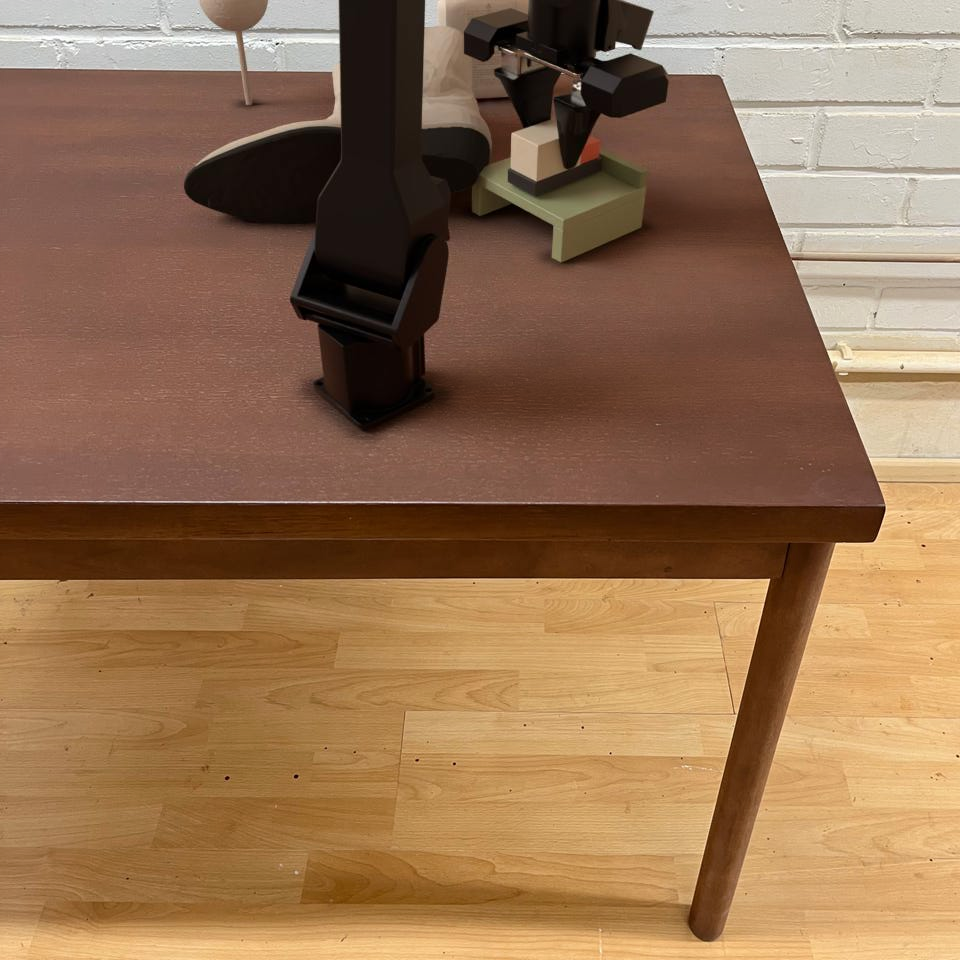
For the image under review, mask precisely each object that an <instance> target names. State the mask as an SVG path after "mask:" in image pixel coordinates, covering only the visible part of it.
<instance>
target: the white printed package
mask: <svg viewBox="0 0 960 960" xmlns="http://www.w3.org/2000/svg"><path fill="white" fill-rule="evenodd" d="M528 2H529V0H438V1H437V26H448V27H452V28H455V29H457V30H459V31H460V32H461V33H462V34H463V35H464V31H465V29H466V27H467V26H468V24H469V22H470V21H471V19H472V18H475V17H479V16H482V15H486V14H490V13H494V12H498V11H502V10H505V9H509V8H512V9H515V10H517V11H520V12H523V13H525V14H528ZM499 67H501V51H499V50H498V46H495V47H494V55H493V56H492V57H491V58H490V59H489V60H488V61H485V62H482V61H479V60H477V59H475V58H472V78H473V94H474V97H475V99H476V100H477V99H492V98H493V99H494V98H509V96H508V95H507V93H506V91H505V89H504V87H503V85H502V83H501V81H500V79H499V78H497V77H495V76H494V69H496V68H499Z"/></svg>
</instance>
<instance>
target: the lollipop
mask: <svg viewBox="0 0 960 960" xmlns="http://www.w3.org/2000/svg"><path fill="white" fill-rule="evenodd" d="M198 2H199V6H200V9H201V10H202V12H203V14H204V15H205V16H206V17H207V19H208V20H209V21H210V22H212V23H213V24H214V25H216V26H217V27H219V28H221V29H222V30H225V31H229V32H235V38H236V45H237V52H238V59H239V66H240V72H241V78H242V87H243V93H244V100H245V105H246V106H252V105H253V100H252V99H253V98H252V92H251V86H250V85H251V84H250V79H249V71H248V65H247V57H246V50H245V43H244V37H243V32H244V31H247V30H250V29H252V28H253V27H255V26H256V25H258V24H259V22H260V21H261V20H263V18H264V16H265V14H266V11H267V8H268V4H269V0H198Z"/></svg>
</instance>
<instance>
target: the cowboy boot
mask: <svg viewBox="0 0 960 960" xmlns="http://www.w3.org/2000/svg"><path fill="white" fill-rule="evenodd" d="M331 75H332V84H333V86H332V87H333V92H334V97H335V98H334V99H335V101H334V107H333V112H332V114H331V115H330V116H328V117H327V118H325V119H317V120H306V121H305V120H304V121H297V122H291V123H287V124H282V125H279V126H277V127H273V128H270V129H267V130H264V131H261V132H258V133H255V134H252V135H249V136H245V137H242V138H239V139H237V140H234V141H231V142H229V143H227V144H225V145H223V146H221V147H219V148H217V149H215V150H214V151H212V152H210V153H208V154H207V155H206V156H205V157H203V158H202V159H201V160H200V161H199V162H198V163H196V164H195V165H194V166H193V167H192V168H191V169H190V170H189V171H188V173H187V174H186V176H185V178H184V181H183V189H184V191H185V192H184V194H186V196H187V197H188V198H189V200H190V201H193V202H194V203H195V204H198V205H200V206H203V207H205V208H207V209H210V210H213V211H216V212H219V213H222V214H225V215H228V216H232V217H235V218H237V219H238V218H239V219H243V220H246V221H250V222H255V223H259V224H270V225H271V224H275V225H276V224H277V225H307V224H308V225H309V224H316V215H317V201H318V197H319V195H320V193H321V192H322V190H323V188H324V187H325V185H326V183H327V182H328V180H329V179H330V177H331V175H332V174H333V172H334V170H335V169H336V167H337V165H338V164H339V162H340V160H341V105H340V60H339V61H337V63H335V65H334V66H333V68H332V73H331ZM492 150H493V140H492V134H491V130H490V128H489V125H488V124H487V122H486V121H485V119H484V118H483V117H482V115H481V113H480V108H479V105H478V100H477V99H475V97H474V94H473V78H472V57H470V56H468V55H465V54H464V35H463V34H462V33H461V32H460V31H459V30H457V29H455V28H452V27H448V26H438V25H437V26H425V29H424V65H423V101H422V136H421V158H422V161H423V163H424V165H425V167H426V169H427V171H428V173H429V175H430V176H432V177H436V178H440V179H444V180H446V181H447V183H448V186H449V190H450V193H451V194H452V193H458V192H462V191H465V190H468V189H470V188H472V186H473V185H474V183H475V182H476V181H477V179H478V177H479V174H480V173H481V171H482V170H483V168H484V167H485V166H487V165H490V159H491V155H492Z"/></svg>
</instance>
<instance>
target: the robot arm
mask: <svg viewBox="0 0 960 960" xmlns="http://www.w3.org/2000/svg"><path fill="white" fill-rule="evenodd" d="M653 15H654V10H652V9H649V8H647V7H643V6H641V5H637V4H635V3H631V2H629V1H626V0H529V2H528V14H525V13H523V12H520V11H517V10H515V9H512V8H509V9H505V10H502V11H498V12H494V13H490V14H486V15H482V16H479V17H475V18H472V19H471V21H470V22H469V24H468V26H467V27H466V29H465V31H464V54H465V55H468V56H470V57H472V58H475V59H477V60H479V61H482V62H485V61H488V60H489V59H490V58H491V57H492V56H493V55H494V47H495V46H498V50H499V51H501V67H499V68H496V69H494V76H495V77H497V78H499V79H500V81H501V83H502V85H503V87H504V89H505V91H506V93H507V95H508V96H509V97H508V99H509V101H510V102H511V104H512V106H513V108H514V110H515V112H516V115H517V117H518V119H519V121H520V124H521V127H522V129H525V128H528V127H531V126H534V125H536V124H539V123H542V122H545V121H548V120H551V119H552V111H553V106H554V114H555V118H556V122H557V129H558V137H559V145H560V152H561V157H562V161H563V166H564V168H565V169H567V170H568V169H571V168H573V167H575V166H576V164H577V162H578V160H579V158H580V156H581V153H582V151H583V149H584V147H585V145H586V142H587V140H588V138H589V136H591V133H592V132H593V129H594V127H595V125H596V124H597V122H598V120H599V118H600V116H601V115H604V116H605V117H607V118H612V119H613V118H615V119H621V118H625V117H627V116H630V115H633V114H636V113H639V112H642V111H645V110H647V109H650V108H653V107H656V106H658V105H661V104H664V103H666V102H667V97H668V90H669V83H670V82H669V81H670V79H669V73H668V72H667V70H666V69H665V67H664V66H663V64H660V63H657V62H655V61H652V60H649V59H648V58H647V59H646V58H644V57H642V56H639V55H636V54H634V53H631V52H630V53H626V54H623V55H621V56H617V57H614V58H611V59H608V60H602V59H599V58H596V57H597V53H598V52H602V53H607V52H611V51H613V50H616V43H620V44H623V45H627V46H631V47H632V48H633V50H634V49H635V50H637V51H642V49H643V46H644V43H645V40H646V37H647V34H648V31H649V28H650V25H651V23H652V20H653V19H652V18H653ZM425 22H426V0H338V41H339V42H338V44H339V48H338V49H339V61H340V105H341V160H340V162H339V164H338V165H337V167H336V169H335V170H334V172H333V174H332V175H331V177H330V179H329V180H328V182H327V183H326V185H325V187H324V188H323V190H322V192H321V193H320V195H319V197H318V201H317V215H316V223H315V228H314V231H313V234H312V236H311V239H310V242H309V244H308V247H307V250H306V252H305V256H304V258H303V261H302V264H301V266H300V269H299V272H298V275H297V277H296V280H295V283H294V285H293V287H292V290H291V293H290V296H289V302H290V305H291V306H292V309H293V311H294V313H295V314H296V317H297V318H298V319H299V320H302V321H310V322H312V323H316V324H317V333H318V341H319V342H318V343H319V350H320V351H319V352H320V359H321V367H322V368H321V369H322V376H323V377H321V378H320V377H319V378H318V379H316V380H314V381H313V382H312V385H313V386H312V388H313V391H314V392H316V393H317V394H318V395H319V396H320V397H321V398H323V399H324V400H325V401H326V402H328V404H330V405H331V406H332V407H333V408H334V409H335V410H337V411H338V412H339V413H340V414H341V415H342V416H344V417H345V418H346V419H347V420H348V421H349V422H351V423H352V424H353V425H354V426H355V427H357V428H358V429H359V430H362V431H367V430H370V429H373V428H374V427H376V426H378V425H380V424H382V423H385V422H386V421H389V420H390V419H392V418H394V417H397V416H398V415H400V414H403V413H404V412H407V411H409V410H410V409H413V408H415V407H417V406H419V405H421V404H423V403H425V402H427V401H429V400H431V399H433V398H434V397H436V388H435V387H434V386H433V385H431V384H430V383H429V382H427V381H426V380H425V379H423V377H425V375H426V371H427V370H426V347H425V346H426V345H425V344H426V343H425V342H426V341H425V334H426V333H427V332H428V331H429V330H430V329H431V328H432V327H433V326H434V325H435V324H436V323H437V322H438V321H439V319H440V315H441V314H440V313H441V308H442V301H443V294H444V290H445V289H444V288H445V283H446V277H447V271H448V270H447V269H448V264H449V245H448V242H449V241H450V239H451V234H450V229H449V213H450V211H449V210H450V206H451V205H450V203H451V196H452V195H451V194H452V193H450V190H449V186H448V183H447V181H446V180H444V179H440V178H436V177H432V176H430V175H429V173H428V171H427V169H426V167H425V165H424V163H423V161H422V158H421V136H422V101H423V65H424V29H425V27H426V26H425V25H426V23H425ZM562 74H564V75H566V76H567V77H568V76H569V77H571V78H573V81H572V82H573V84H571V90H570V91H569V92H565V93H562V94H559V95H555V96H554V89H555V86H556V84H557V82H558V81H559V79H560V77H561V75H562Z"/></svg>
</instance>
